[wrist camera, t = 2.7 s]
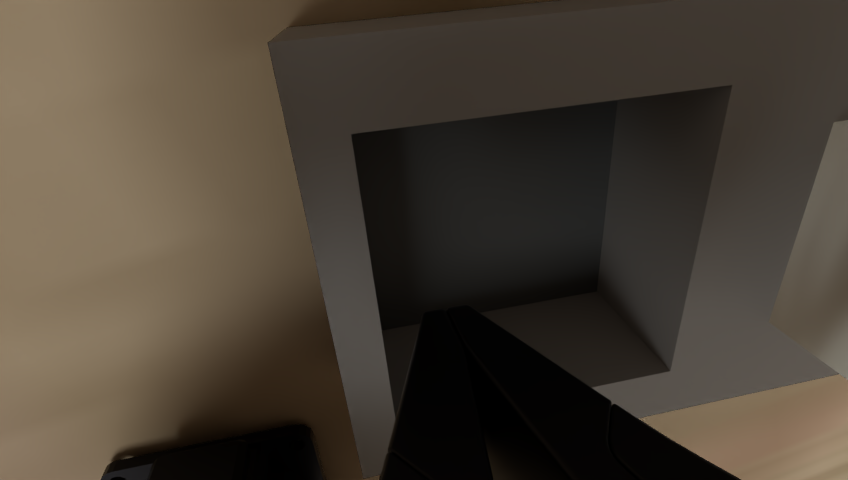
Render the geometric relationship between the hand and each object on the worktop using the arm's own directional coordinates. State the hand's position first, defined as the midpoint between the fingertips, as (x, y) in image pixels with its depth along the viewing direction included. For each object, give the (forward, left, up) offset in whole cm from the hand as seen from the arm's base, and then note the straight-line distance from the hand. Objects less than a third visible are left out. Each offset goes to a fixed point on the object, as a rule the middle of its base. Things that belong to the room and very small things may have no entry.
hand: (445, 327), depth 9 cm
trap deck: (0, -15, -5) cm, 16 cm away
